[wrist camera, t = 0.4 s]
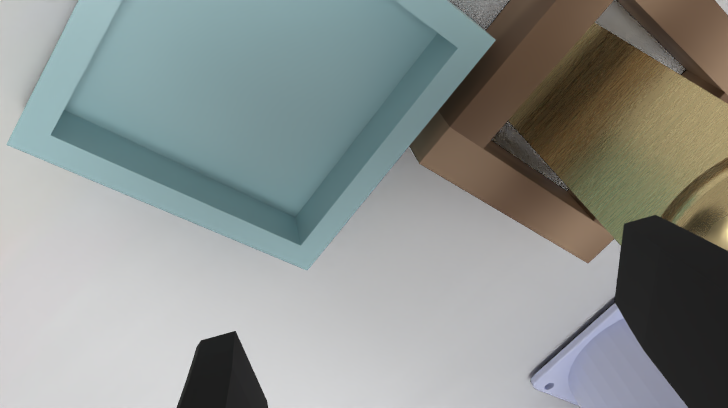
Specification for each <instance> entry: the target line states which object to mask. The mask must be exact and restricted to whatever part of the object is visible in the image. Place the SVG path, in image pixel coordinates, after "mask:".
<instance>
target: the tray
mask: <svg viewBox="0 0 728 408" xmlns="http://www.w3.org/2000/svg"><path fill="white" fill-rule="evenodd" d="M495 41H496V40H495V39H494V38H493V37H492V36H491V35H490V34H489V33H487V32H486V31H485V30H484V29H483V28H482V27H481V26H479V25H478V24H477V23H476V22H475V21H474V20H473V19H471V18H470V17H469V16H468V15H467V14H465V13H464V12H463V11H462V10H460V9H459V8H458V7H457V6H455V5H454V4H453V3H452V2H450V1H449V0H79V1H78V3H77V5H76V7H75V9H74V11H73V13H72V15H71V17H70V19H69V21H68V23H67V25H66V27H65V29H64V31H63V33H62V35H61V37H60V39H59V41H58V43H57V45H56V47H55V49H54V51H53V53H52V55H51V57H50V59H49V61H48V63H47V65H46V67H45V69H44V71H43V73H42V75H41V77H40V79H39V81H38V83H37V85H36V87H35V89H34V91H33V93H32V95H31V97H30V99H29V101H28V103H27V105H26V107H25V109H24V111H23V113H22V115H21V117H20V119H19V121H18V123H17V125H16V127H15V129H14V131H13V133H12V135H11V137H10V139H9V141H8V143H7V145H8V146H11V147H13V148H16V149H18V150H20V151H23V152H25V153H27V154H30V155H32V156H35V157H37V158H39V159H42V160H44V161H47V162H49V163H51V164H54V165H56V166H59V167H61V168H63V169H66V170H68V171H70V172H73V173H75V174H78V175H80V176H82V177H85V178H87V179H90V180H92V181H94V182H97V183H99V184H102V185H104V186H106V187H109V188H111V189H113V190H116V191H118V192H121V193H123V194H125V195H128V196H130V197H133V198H135V199H137V200H140V201H142V202H145V203H147V204H149V205H152V206H154V207H156V208H159V209H161V210H164V211H166V212H168V213H171V214H173V215H176V216H178V217H180V218H183V219H185V220H188V221H190V222H192V223H195V224H197V225H199V226H202V227H204V228H207V229H209V230H211V231H214V232H216V233H219V234H221V235H223V236H226V237H228V238H231V239H233V240H235V241H238V242H240V243H243V244H245V245H247V246H250V247H252V248H254V249H257V250H259V251H262V252H264V253H266V254H269V255H271V256H274V257H276V258H278V259H281V260H283V261H286V262H288V263H290V264H293V265H295V266H297V267H300V268H302V269H305V270H308V269H309V268H310V267H311V265H312V264H313V263H314V262H315V261H316V259H317V258H318V257H319V256H320V254H321V253H322V252H323V251H324V250H325V248H326V247H327V246H328V245H329V243H330V242H331V241H332V240H333V239H334V237H335V236H336V235H337V234H338V232H339V231H340V230H341V229H342V228H343V226H344V225H345V224H346V223H347V221H348V220H349V219H350V218H351V217H352V215H353V214H354V213H355V212H356V210H357V209H358V208H359V207H360V206H361V204H362V203H363V202H364V201H365V199H366V198H367V197H368V196H369V195H370V193H371V192H372V191H373V190H374V188H375V187H376V186H377V185H378V184H379V182H380V181H381V180H382V179H383V177H384V176H385V175H386V174H387V173H388V171H389V170H390V169H391V168H392V166H393V165H394V164H395V163H396V162H397V160H398V159H399V158H400V157H401V155H402V154H403V153H404V152H405V151H406V149H407V148H408V147H409V146H410V144H411V143H412V142H413V141H414V140H415V138H416V137H417V136H418V135H419V133H420V132H421V131H422V130H423V129H424V127H425V126H426V125H427V124H428V122H429V121H430V120H431V119H432V118H433V116H434V115H435V114H436V113H437V111H438V110H439V109H440V108H441V107H442V105H443V104H444V103H445V102H446V100H447V99H448V98H449V97H450V96H451V94H452V93H453V92H454V91H455V89H456V88H457V87H458V86H459V85H460V83H461V82H462V81H463V80H464V78H465V77H466V76H467V75H468V74H469V72H470V71H471V70H472V69H473V67H474V66H475V65H476V64H477V63H478V61H479V60H480V59H481V58H482V56H483V55H484V54H485V53H486V52H487V50H488V49H489V48H490V47H491V45H492V44H493V43H494V42H495Z"/></svg>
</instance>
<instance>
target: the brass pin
mask: <svg viewBox="0 0 728 408" xmlns="http://www.w3.org/2000/svg"><path fill="white" fill-rule="evenodd" d="M508 121H509V122H510V123H511V124H512V125H513V126H514V128H515V129H516V130H517V131H518V132H519V133H520V134H521V135H522V136H523V138H524V139H525V140H526V141H527V142H528V143H529V144H530V145H531V146H532V148H533V149H534V150H535V151H536V152H537V153H538V154H539V155H540V156H541V158H542V159H543V160H544V161H545V162H546V163H547V164H548V165H549V166H550V168H551V169H552V170H553V171H554V172H555V173H556V174H557V175H558V176H559V178H560V179H561V180H562V181H563V182H564V183H565V184H566V185H567V186H568V188H569V189H570V190H571V191H572V192H573V193H574V194H575V195H576V196H577V198H578V199H579V200H580V201H581V202H582V203H583V204H584V205H585V206H586V208H587V209H588V210H589V211H590V212H591V213H592V214H593V215H594V216H595V218H596V219H597V220H598V221H599V222H600V223H601V224H602V225H603V226H604V228H605V229H606V230H607V231H608V232H609V233H610V234H611V235H612V236H613V238H614V239H615V240H616V241H617V242H618V243H619V244H620V245H621V244H622V235H623V227H624V223H628V222H631V221H635V220H638V219H642V218H646V217H649V216H653V215H657V216H659V217H661V218H663V219H665V220H667V221H670V222H672V223H674V224H676V225H678V226H680V227H682V228H684V229H686V230H688V231H690V232H692V233H694V234H696V235H698V236H700V237H702V238H704V239H706V240H708V241H709V242H711V243H713V244H715V245H717V246H719V247H721V248H723V249H725V250H727V251H728V104H727V103H726V102H724V101H722V100H721V99H719V98H717V97H716V96H714V95H712V94H711V93H709V92H707V91H706V90H704V89H703V88H701V87H699V86H698V85H696V84H694V83H693V82H691V81H689V80H688V79H686V78H684V77H683V76H681V75H680V74H678V73H676V72H675V71H673V70H671V69H670V68H668V67H666V66H665V65H663V64H661V63H660V62H658V61H657V60H655V59H653V58H652V57H650V56H648V55H647V54H645V53H643V52H642V51H640V50H638V49H637V48H635V47H634V46H632V45H630V44H629V43H627V42H625V41H624V40H622V39H620V38H619V37H617V36H616V35H614V34H612V33H611V32H609V31H607V30H606V29H604V28H602V27H601V26H599V25H597V24H596V23H593V24H592V25H591V27H590V28H589V29H588V30H587V31H586V32H585V33H584V35H583V36H582V37H581V38H580V39H579V40H578V41H577V43H576V44H575V45H574V46H573V47H572V48H571V49H570V51H569V52H568V53H567V54H566V55H565V56H564V57H563V58H562V60H561V61H560V62H559V63H558V64H557V65H556V66H555V68H554V69H553V70H552V71H551V72H550V73H549V74H548V76H547V77H546V78H545V79H544V80H543V81H542V82H541V84H540V85H539V86H538V87H537V88H536V89H535V90H534V91H533V93H532V94H531V95H530V96H529V97H528V98H527V99H526V101H525V102H524V103H523V104H522V105H521V106H520V107H519V109H518V110H517V111H516V112H515V113H514V114H513V115H512V117H511V118H510V119H509V120H508Z"/></svg>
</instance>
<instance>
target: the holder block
mask: <svg viewBox="0 0 728 408" xmlns="http://www.w3.org/2000/svg"><path fill="white" fill-rule="evenodd" d="M617 1H618V2H619V3H620V4H621V5H622V6H623V7H624V8H625V9H626V10H627V11H628V12H629V13H630V14H631V15H632V16H633V17H634V18H635V19H636V20H637V21H638V22H639V23H640V24H641V25H642V26H643V27H644V28H645V29H646V30H647V31H648V32H649V33H650V34H651V35H652V36H653V37H654V38H655V39H656V40H657V41H658V42H659V43H660V44H661V45H662V46H663V47H664V48H665V49H666V50H667V51H668V52H669V53H670V54H671V55H672V56H673V57H674V58H675V59H676V60H677V61H678V62H679V63H680V64H681V65H682V66H683V67H684V68H685V69H686V71H685V72H684V73H683V74H682V75H681V76H683V77H684V78H686V79H688V80H689V81H691V82H693V83H694V84H696V85H698V86H699V87H701V88H703V89H704V90H706V91H707V92H709V93H711V94H712V95H714V96H716V97H717V98H719V99H721V100H722V101H724V102H726V103H727V104H728V15H727V14H726V13H725V12H724V10H723V9H722V8H721V7H720V6H719V5H718V3H717V2H716V1H715V0H617ZM612 2H613V0H510V1H509V3H508V4H507V5H506V6H505V8H504V9H503V10H502V11H501V13H500V14H499V15H498V16H497V18H496V19H495V20H494V21H493V22H492V24H491V25H490V26H489V27H488V29H487V30H486V32H487V33H489V34H490V35H491V36H492V37H493V38H494V39H495V40H496V41H495V42H494V43H493V44H492V45H491V47H490V48H489V49H488V50H487V52H486V53H485V54H484V55H483V56H482V58H481V59H480V60H479V61H478V63H477V64H476V65H475V66H474V67H473V69H472V70H471V71H470V72H469V74H468V75H467V76H466V77H465V78H464V80H463V81H462V82H461V83H460V85H459V86H458V87H457V88H456V89H455V91H454V92H453V93H452V94H451V96H450V97H449V98H448V99H447V100H446V102H445V103H444V104H443V105H442V107H441V108H440V109H439V110H438V111H437V113H436V114H435V115H434V116H433V118H432V119H431V120H430V121H429V122H428V124H427V125H426V126H425V127H424V129H423V130H422V131H421V132H420V133H419V135H418V136H417V137H416V138H415V140H414V141H413V142H412V143H411V144H410V148H411V150H412V151H413V153H414V155H415V157H416V159H417V160H418V162H419V164H421V165H422V166H424V167H426V168H428V169H429V170H431V171H433V172H434V173H436V174H438V175H439V176H441V177H443V178H444V179H446V180H448V181H450V182H451V183H453V184H455V185H456V186H458V187H460V188H461V189H463V190H465V191H466V192H468V193H470V194H471V195H473V196H475V197H477V198H478V199H480V200H482V201H483V202H485V203H487V204H488V205H490V206H492V207H493V208H495V209H497V210H499V211H500V212H502V213H504V214H505V215H507V216H509V217H510V218H512V219H514V220H515V221H517V222H519V223H521V224H522V225H524V226H526V227H527V228H529V229H531V230H532V231H534V232H536V233H537V234H539V235H541V236H542V237H544V238H546V239H548V240H549V241H551V242H553V243H554V244H556V245H558V246H559V247H561V248H563V249H564V250H566V251H568V252H570V253H571V254H573V255H575V256H576V257H578V258H580V259H581V260H583V261H585V262H586V263H589V262H590V261H591V260H592V259H593V258H595V257H596V256H597V255H598V254H599V253H600V252H601V251H602V250H603V249H604V248H605V247H606V246H607V245H608V244H609V243H610V242H611V241H613V240H614V238H613V236H612V235H611V234H610V233H609V232H608V231H607V230H606V229H605V228H604V226H603V225H602V224H601V223H600V222H599V221H598V220H597V219H596V218H595V216H594V215H593V214H592V213H591V212H590V211H589V210H588V209H587V208H586V206H585V205H584V204H583V203H582V202H581V201H580V200H579V199H578V198H577V196H576V195H575V194H574V193H573V192H572V191H571V190H570V189H569V190H568V191H566V190H564V189H563V188H561V187H560V186H558V185H557V184H555V183H554V182H552V181H551V180H549V179H548V178H546V177H545V176H543V175H542V174H540V173H539V172H537V171H536V170H534V169H533V168H531V167H530V166H528V165H527V164H525V163H524V162H522V161H521V160H520V159H518V158H517V157H515V156H514V155H512V154H511V153H509V152H508V151H506V150H505V149H503V148H502V147H500V146H499V145H497V144H496V143H494V142H493V141H491V139H492V138H493V137H494V136H495V135H496V134H497V132H498V131H499V130H500V129H501V128H502V127H503V126H504V124H505V123H506V122H507V121H508V120H509V119H510V118H511V117H512V115H513V114H514V113H515V112H516V111H517V110H518V109H519V107H520V106H521V105H522V104H523V103H524V102H525V101H526V99H527V98H528V97H529V96H530V95H531V94H532V93H533V91H534V90H535V89H536V88H537V87H538V86H539V85H540V84H541V82H542V81H543V80H544V79H545V78H546V77H547V76H548V74H549V73H550V72H551V71H552V70H553V69H554V68H555V66H556V65H557V64H558V63H559V62H560V61H561V60H562V58H563V57H564V56H565V55H566V54H567V53H568V52H569V51H570V49H571V48H572V47H573V46H574V45H575V44H576V43H577V41H578V40H579V39H580V38H581V37H582V36H583V35H584V33H585V32H586V31H587V30H588V29H589V28H590V27H591V25H592V24H593V23H594V22H595V21H596V20H597V19H598V18H599V16H600V15H601V14H602V13H603V12H604V11H605V10H606V8H607V7H608V6H609V5H610V4H611V3H612Z"/></svg>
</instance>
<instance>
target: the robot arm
mask: <svg viewBox="0 0 728 408" xmlns="http://www.w3.org/2000/svg"><path fill="white" fill-rule="evenodd" d="M531 383H532V385H533V387H534V388H535V389H537V390H539V391H542V392H544V393H547V394H550V395H552V396H555V397H557V398H560V399H562V400H565V401H568V402H570V403H573V404H575V405H578V406H580V407H581V408H728V251H727V250H725V249H723V248H721V247H719V246H717V245H715V244H713V243H711V242H709V241H708V240H706V239H704V238H702V237H700V236H698V235H696V234H694V233H692V232H690V231H688V230H686V229H684V228H682V227H680V226H678V225H676V224H674V223H672V222H670V221H667V220H665V219H663V218H661V217H659V216H657V215H653V216H649V217H646V218H642V219H638V220H635V221H631V222H628V223H624V227H623V235H622V244H621V252H620V261H619V269H618V278H617V286H616V294H615V303H614V304H613V305H612V306H611V307H610V308H608V309H607V310H606V311H605V312H604V313H603V314H602V315H601V316H599V317H598V318H597V319H596V320H595V321H594V322H593V323H592V324H591V325H589V326H588V327H587V328H586V329H585V330H584V331H583V332H582V333H580V334H579V335H578V336H577V337H576V338H575V339H574V340H573V341H571V342H570V343H569V344H568V345H567V346H566V347H565V348H564V349H563V350H561V351H560V352H559V353H558V354H557V355H556V356H555V357H554V358H552V359H551V360H550V361H549V362H548V363H547V364H546V365H545V366H543V367H542V368H541V369H540V370H539V371H538V372H537V373H536V374H535V375H534V376H533V377H532V378H531ZM177 408H268V404H267V400H266V398H265V396H264V393H263V391H262V389H261V387H260V384H259V382H258V380H257V378H256V376H255V373H254V371H253V369H252V367H251V364H250V362H249V360H248V358H247V356H246V353H245V351H244V349H243V347H242V344H241V342H240V340H239V338H238V335H237V333H236V331H234V332H230V333H226V334H223V335H219V336H216V337H212V338H208V339H205V340H201V341H200V343H199V344H198V346H197V348H196V351H195V355H194V358H193V361H192V364H191V367H190V370H189V374H188V377H187V380H186V383H185V386H184V388H183V391H182V394H181V397H180V400H179V403H178V405H177Z"/></svg>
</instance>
